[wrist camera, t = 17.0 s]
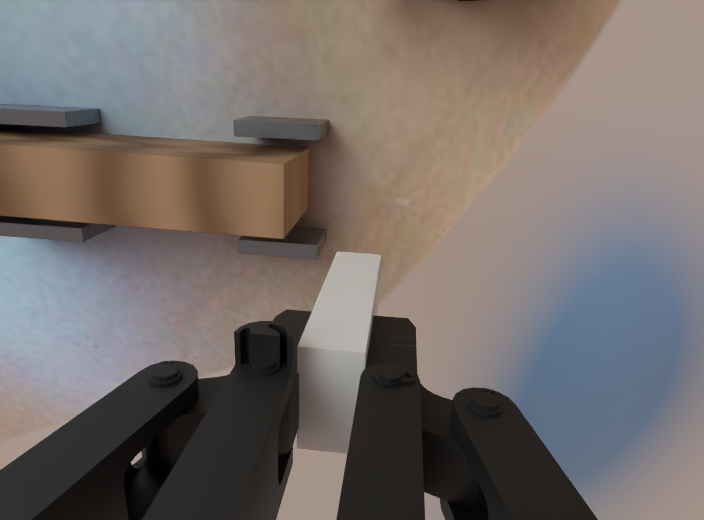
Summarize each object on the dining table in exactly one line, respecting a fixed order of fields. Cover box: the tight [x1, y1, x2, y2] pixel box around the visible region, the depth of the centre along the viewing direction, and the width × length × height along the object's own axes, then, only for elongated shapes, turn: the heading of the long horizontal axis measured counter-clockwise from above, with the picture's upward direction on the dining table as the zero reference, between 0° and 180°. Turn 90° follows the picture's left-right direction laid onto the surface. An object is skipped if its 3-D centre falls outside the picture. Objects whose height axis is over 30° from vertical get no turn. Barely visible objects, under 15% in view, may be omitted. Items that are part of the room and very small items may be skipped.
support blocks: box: [234, 116, 328, 259], centre depth 35 cm, size 6×9×4 cm, turn 178°
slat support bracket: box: [0, 104, 114, 242], centre depth 37 cm, size 8×9×4 cm
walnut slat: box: [0, 129, 309, 239], centre depth 34 cm, size 22×4×8 cm, turn 87°
